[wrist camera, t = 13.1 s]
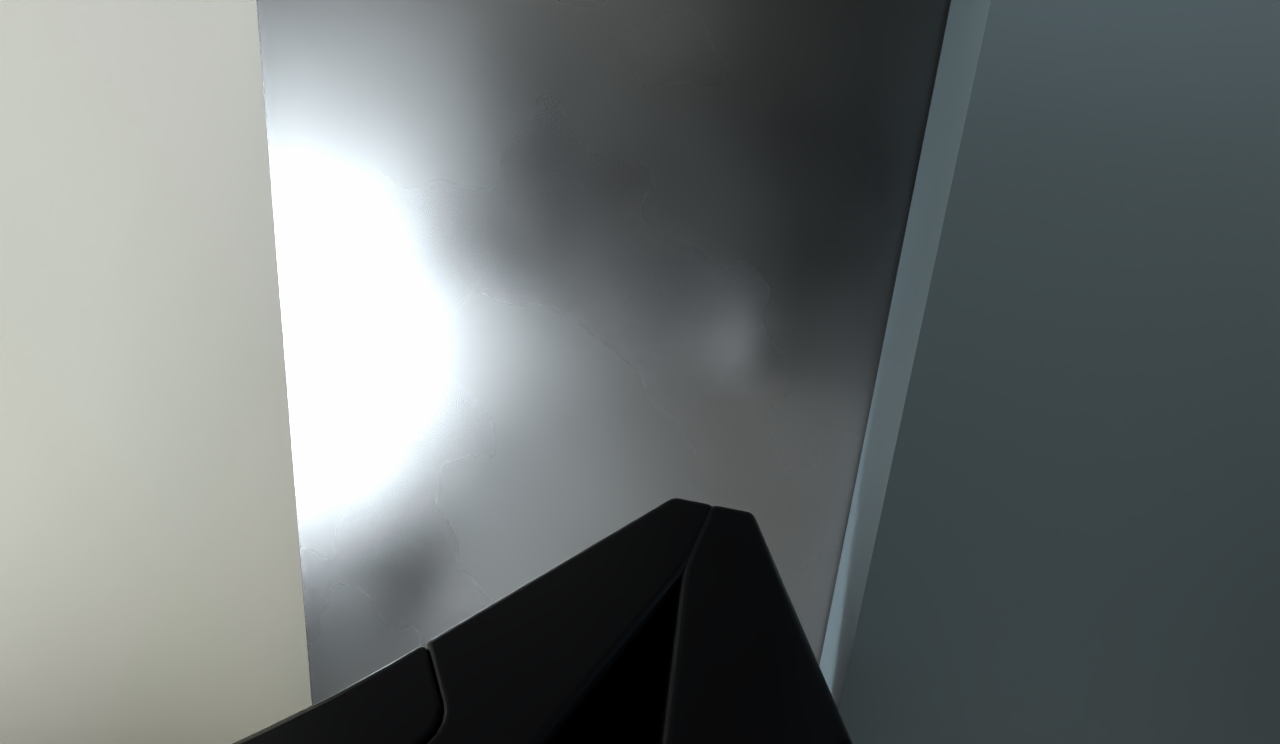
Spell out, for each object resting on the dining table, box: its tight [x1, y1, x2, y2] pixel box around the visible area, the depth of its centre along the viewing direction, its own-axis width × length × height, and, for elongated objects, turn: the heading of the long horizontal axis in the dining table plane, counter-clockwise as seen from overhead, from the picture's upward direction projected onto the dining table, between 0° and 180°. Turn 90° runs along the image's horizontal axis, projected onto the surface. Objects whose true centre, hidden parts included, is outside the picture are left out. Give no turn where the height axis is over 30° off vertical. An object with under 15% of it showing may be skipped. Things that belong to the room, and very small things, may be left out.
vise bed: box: [257, 0, 951, 705], centre depth 11 cm, size 16×20×1 cm
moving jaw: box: [819, 0, 1280, 744], centre depth 9 cm, size 14×3×4 cm, turn 176°
